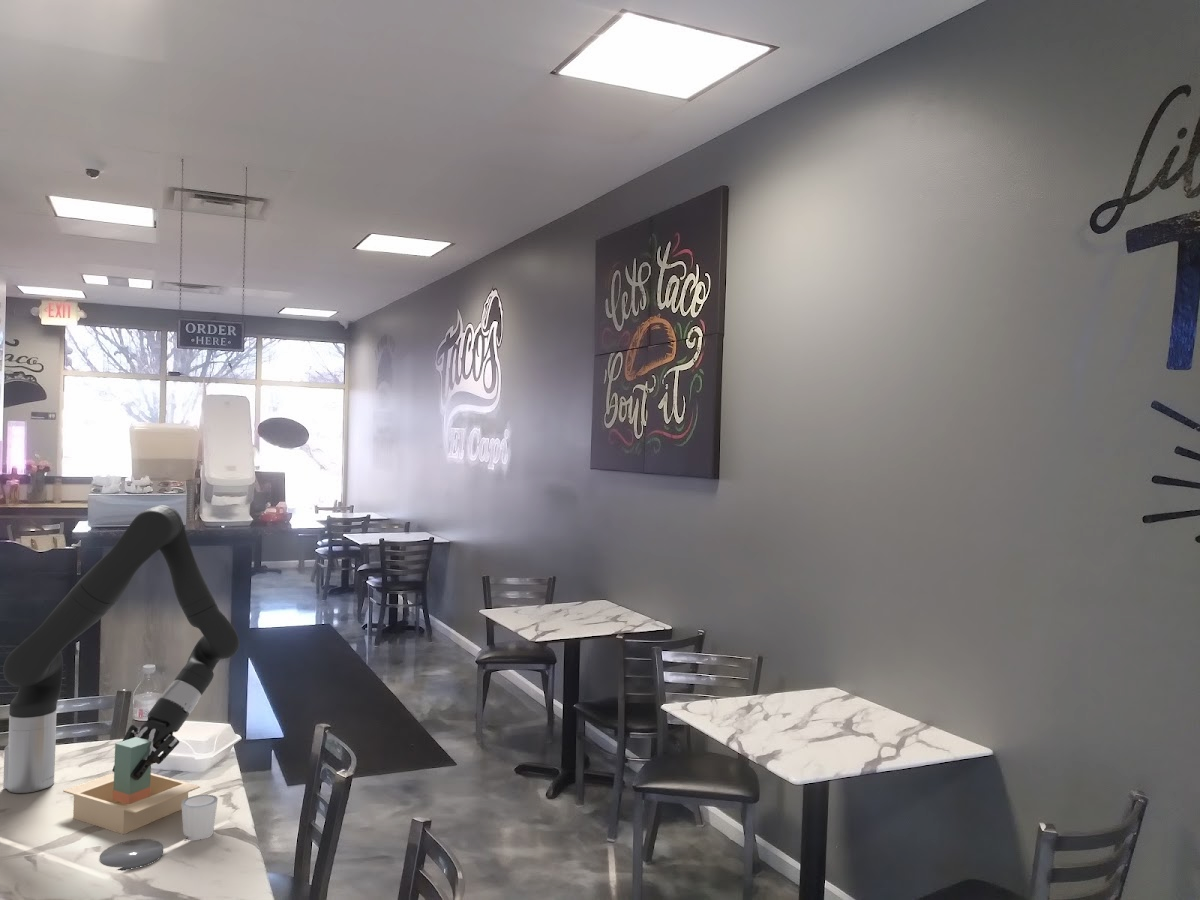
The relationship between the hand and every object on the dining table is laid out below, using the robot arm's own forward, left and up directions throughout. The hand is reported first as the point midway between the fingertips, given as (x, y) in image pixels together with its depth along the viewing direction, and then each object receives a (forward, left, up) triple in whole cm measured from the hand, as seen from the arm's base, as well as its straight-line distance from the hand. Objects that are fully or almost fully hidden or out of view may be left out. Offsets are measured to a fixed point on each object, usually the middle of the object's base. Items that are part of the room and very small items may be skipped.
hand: (124, 775), depth 187 cm
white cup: (+20, -2, -10) cm, 22 cm away
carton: (+1, +2, -9) cm, 9 cm away
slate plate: (+14, -14, -9) cm, 22 cm away
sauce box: (0, +2, -5) cm, 6 cm away
